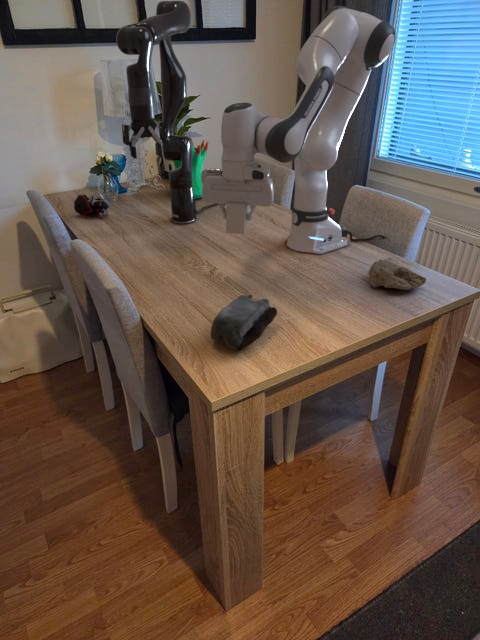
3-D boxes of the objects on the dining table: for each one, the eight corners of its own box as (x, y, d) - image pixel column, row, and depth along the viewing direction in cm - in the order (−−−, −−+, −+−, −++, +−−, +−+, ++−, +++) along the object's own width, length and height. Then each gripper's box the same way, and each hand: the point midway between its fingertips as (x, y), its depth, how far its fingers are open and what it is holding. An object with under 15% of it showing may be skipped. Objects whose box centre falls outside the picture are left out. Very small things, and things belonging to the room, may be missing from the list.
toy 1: (101, 187, 180) (72, 186, 186) (93, 207, 178) (64, 205, 183) (117, 205, 191) (89, 203, 196) (109, 223, 188) (82, 221, 194)
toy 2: (167, 190, 223) (163, 137, 210) (207, 188, 227) (205, 135, 214) (172, 202, 206) (167, 145, 193) (214, 199, 210) (213, 143, 197)
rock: (246, 362, 102) (246, 333, 98) (204, 348, 107) (203, 320, 103) (278, 325, 116) (280, 298, 112) (240, 314, 121) (241, 288, 116)
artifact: (387, 301, 128) (428, 294, 133) (394, 279, 124) (436, 272, 129) (353, 270, 142) (391, 265, 147) (358, 249, 138) (397, 245, 142)
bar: (241, 203, 149) (241, 179, 145) (256, 204, 149) (257, 180, 144) (226, 232, 126) (226, 205, 122) (244, 233, 125) (244, 206, 121)
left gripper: (124, 105, 133) (131, 161, 142) (167, 102, 140) (171, 156, 149) (115, 103, 138) (122, 157, 147) (156, 100, 145) (161, 152, 154)
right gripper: (197, 170, 119) (199, 220, 126) (273, 174, 116) (271, 224, 124) (203, 165, 124) (204, 213, 132) (275, 168, 122) (273, 217, 129)
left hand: (146, 156), depth 148 cm, fingers open, 8 cm apart
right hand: (237, 219), depth 128 cm, fingers closed on bar, 5 cm apart
